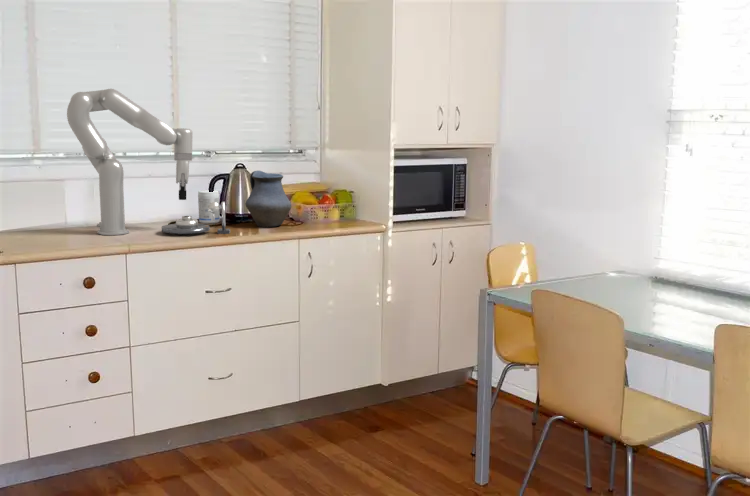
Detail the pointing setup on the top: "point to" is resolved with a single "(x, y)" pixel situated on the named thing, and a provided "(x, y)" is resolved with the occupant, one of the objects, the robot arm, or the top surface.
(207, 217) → the supplement tub
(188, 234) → the turntable base
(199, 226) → the turntable
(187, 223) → the cast cover
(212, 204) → the dial indicator
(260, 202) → the pitcher
